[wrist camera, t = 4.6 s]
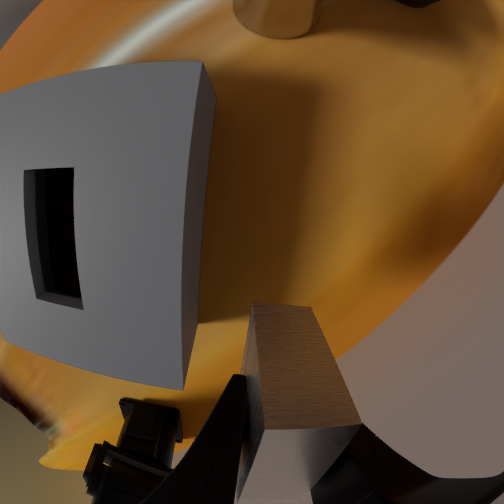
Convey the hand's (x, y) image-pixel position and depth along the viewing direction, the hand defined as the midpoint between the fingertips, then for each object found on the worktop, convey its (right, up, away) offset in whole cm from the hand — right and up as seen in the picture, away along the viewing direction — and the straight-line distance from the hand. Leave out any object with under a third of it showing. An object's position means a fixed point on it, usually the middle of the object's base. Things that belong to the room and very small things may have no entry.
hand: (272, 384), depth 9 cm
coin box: (-11, +7, +9) cm, 16 cm away
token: (0, 0, +1) cm, 1 cm away
